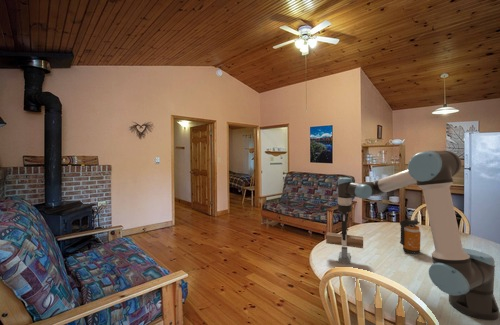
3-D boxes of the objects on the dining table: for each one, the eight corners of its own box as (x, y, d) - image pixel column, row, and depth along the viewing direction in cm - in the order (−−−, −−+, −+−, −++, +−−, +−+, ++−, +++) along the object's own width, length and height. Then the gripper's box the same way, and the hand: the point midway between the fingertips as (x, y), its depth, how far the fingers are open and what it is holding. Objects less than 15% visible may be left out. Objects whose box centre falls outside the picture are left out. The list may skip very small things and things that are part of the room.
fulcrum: (349, 264, 138) (349, 252, 138) (338, 262, 140) (338, 250, 140) (350, 255, 149) (350, 244, 148) (339, 253, 151) (339, 243, 151)
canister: (422, 254, 148) (423, 222, 146) (402, 253, 150) (403, 221, 149) (416, 248, 156) (416, 217, 155) (396, 247, 159) (397, 217, 157)
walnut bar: (363, 248, 138) (363, 239, 138) (326, 243, 146) (326, 235, 146) (363, 245, 142) (363, 236, 142) (327, 240, 151) (327, 232, 150)
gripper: (351, 208, 133) (350, 250, 134) (352, 201, 149) (351, 238, 151) (336, 207, 136) (336, 248, 137) (338, 200, 152) (338, 237, 154)
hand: (344, 243), depth 144 cm, fingers closed on walnut bar, 5 cm apart
